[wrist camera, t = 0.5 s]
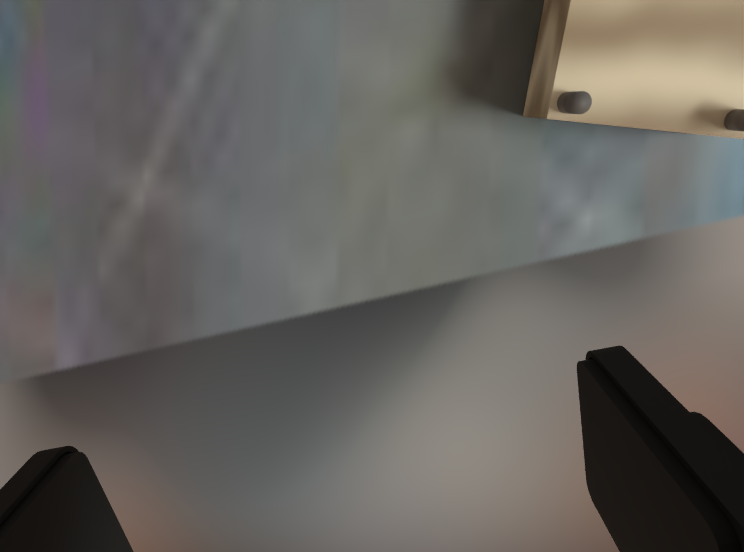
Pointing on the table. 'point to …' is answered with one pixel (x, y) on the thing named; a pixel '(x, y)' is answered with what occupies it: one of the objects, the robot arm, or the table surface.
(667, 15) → the pegged square board
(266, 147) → the table surface
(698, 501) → the robot arm
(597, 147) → the table surface
